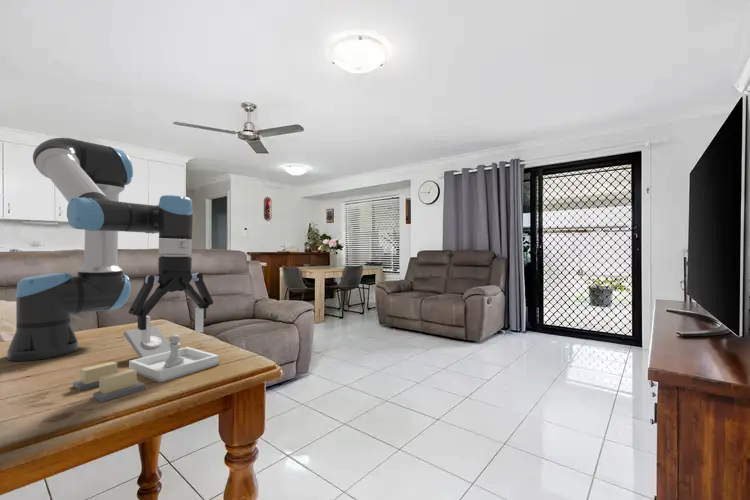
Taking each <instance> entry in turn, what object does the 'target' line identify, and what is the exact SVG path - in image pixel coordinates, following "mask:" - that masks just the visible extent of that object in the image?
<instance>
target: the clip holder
mask: <svg viewBox="0 0 750 500" xmlns="http://www.w3.org/2000/svg"><path fill="white" fill-rule="evenodd" d="M80 376H81V377H80V380H77V381H73V382H72V388H74V389H76V390H79V391H84V390H87V389H91V388H94V387H97V386H98V391H95V392H93V394H92V396H93V399H95V400H97V401H99V402H100V403H103V402H106V401H110V400H114V399H117V398H120V397H123V396H126V395H129V394H133V393H136V392H139V391H142V390H146V384H145V383H143V382H140V381H138V378H137V377H138V374H137V371H136V370H133V369H129V368H128V369H125V370H121V371H118V362H115V361H108V362H105V363H104V362H103V363H99V364H96V365H92V366H87V367H82V368H81V370H80Z"/></svg>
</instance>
